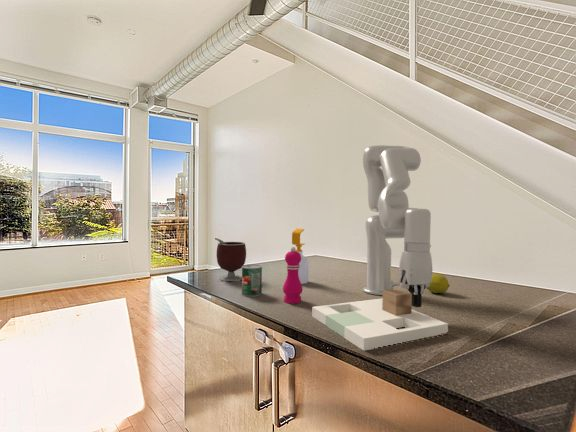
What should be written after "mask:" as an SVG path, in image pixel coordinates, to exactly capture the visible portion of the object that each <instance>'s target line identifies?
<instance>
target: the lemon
mask: <svg viewBox="0 0 576 432" xmlns="http://www.w3.org/2000/svg"><path fill="white" fill-rule="evenodd" d="M450 286H451V285H450V282H449V280H448V279H447V277H446V276H444V275H443V274H440V273H432V281H431V282H430V286H428V287H426V288H425V289H427V291H429V292H431V293H434V294H437V293H440V294H444V293H446V292H447V291H448V289H449V288H450Z"/></svg>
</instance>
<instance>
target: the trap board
mask: <svg viewBox="0 0 576 432" xmlns="http://www.w3.org/2000/svg"><path fill="white" fill-rule="evenodd" d="M382 300H383V297H381V298H373V299H367V300H365V299H364V300H359V301H357V300H356V301H349V302H342V303H341V302H339V303H332V304H324V305H316V306H311V317H312V318H314V319H316V320H317V321H319V322H320V323H322V324H323V325H325V326H326V327H327V328H329V329H330V330H332V331H333V332H335V333H336V334H338V335H340V336H341V337H343V338H344V339H345V340H347V342H348V341H349V342H350V343H351V344H353V345H354V346H356V347H357V348H359V349H361V350H362V351H370V350H375V349H379V348H378V347H381V348H384V347H383V346H386V347H389V346H388V345H391V346H394V345H393V344H396V345H398V344H397V343H401V344H403V343H402V342H406V341H410V340H415V339H419V338H424V337H429V336H434V335H438V334H441V333H446V332H448V333H449V323H447V322H445V321H443V320H440V319H437V318H435V317H431V316H429V315H427V314H424V313H422V312H419V311H417V310H415V309H412V312H411V314H404V315H398V316H395V315H393V314H391V313H388V312H386V311H384V310H382ZM399 327H405V328H399ZM396 328H399V329H396ZM406 343H407V342H406ZM374 348H375V349H374Z"/></svg>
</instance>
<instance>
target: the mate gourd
mask: <svg viewBox="0 0 576 432" xmlns="http://www.w3.org/2000/svg"><path fill="white" fill-rule="evenodd" d="M214 240H215V241H218V242H217V248H216V262H217V264H218V266H219V267H220V269H222V270H224V271H227V274H225V275H220V276H218V277H217V280H218V279H219V280H221V281H220V282H223V281H236V282H241V281H240V280H242V275H238V274H236V273H235V272H237V271H238V270H240V269H242V266H244V265H246V259H247V248H246V242H244V241H243V242H242V241H223V240H221V239H219V238H216V237H215V238H214ZM219 280H218V281H219Z"/></svg>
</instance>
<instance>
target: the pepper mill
mask: <svg viewBox="0 0 576 432" xmlns="http://www.w3.org/2000/svg"><path fill="white" fill-rule="evenodd" d="M295 250H297V248H296V246H292V247H291V248H290V251H288V252H287V253H286V254H285V256H284V261H285V262H286V264H285V265H286V267H285V268H286V270H287V273H286V274H287V276H286V279H285V281H284V283H283V285H282V291H283V293H284V296H283V301H284V302H285V303H287V304H293V305H294V304H300V303H301V302H302V296H301V294H302V292H303V284H301V282H300V279H299V276H298V270H299V269H300V265H299V263H300V261H301V255H300V253H298V252H296V251H295Z"/></svg>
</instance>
